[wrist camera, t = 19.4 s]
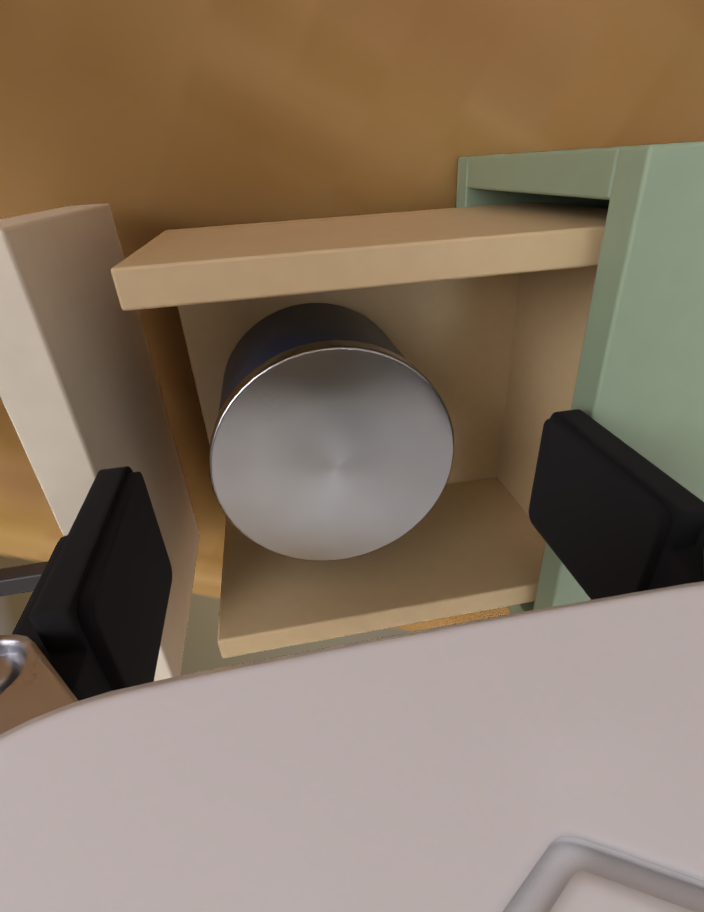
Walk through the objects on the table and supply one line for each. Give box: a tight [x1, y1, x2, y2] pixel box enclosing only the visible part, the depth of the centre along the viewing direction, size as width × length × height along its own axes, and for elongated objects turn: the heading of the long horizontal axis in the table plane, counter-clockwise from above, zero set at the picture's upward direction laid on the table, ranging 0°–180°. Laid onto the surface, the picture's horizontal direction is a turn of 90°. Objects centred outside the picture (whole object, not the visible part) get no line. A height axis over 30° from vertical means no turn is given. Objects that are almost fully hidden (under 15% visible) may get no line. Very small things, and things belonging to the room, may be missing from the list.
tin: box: [209, 303, 455, 561], centre depth 15 cm, size 7×7×5 cm
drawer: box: [0, 201, 608, 681], centre depth 15 cm, size 20×13×7 cm, turn 94°
